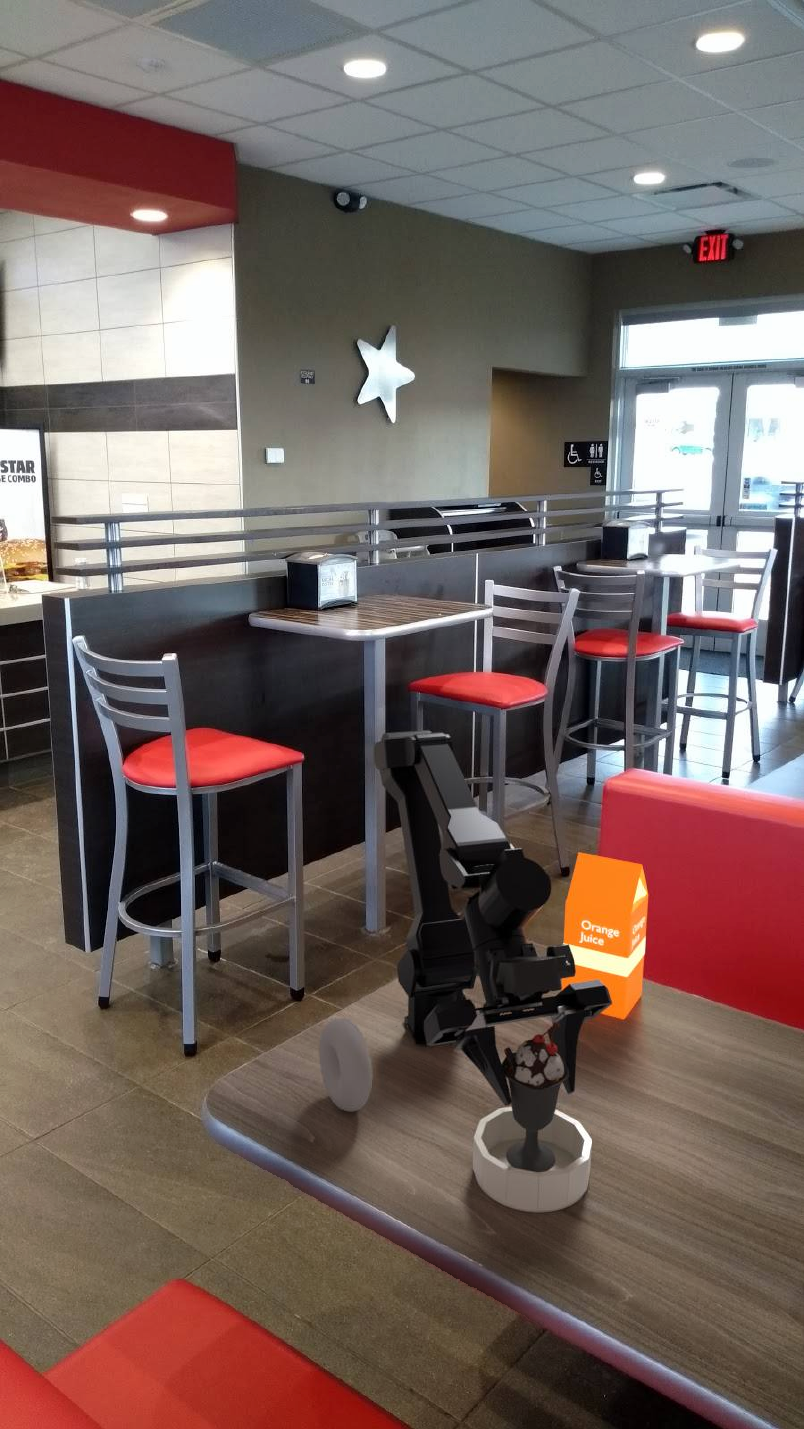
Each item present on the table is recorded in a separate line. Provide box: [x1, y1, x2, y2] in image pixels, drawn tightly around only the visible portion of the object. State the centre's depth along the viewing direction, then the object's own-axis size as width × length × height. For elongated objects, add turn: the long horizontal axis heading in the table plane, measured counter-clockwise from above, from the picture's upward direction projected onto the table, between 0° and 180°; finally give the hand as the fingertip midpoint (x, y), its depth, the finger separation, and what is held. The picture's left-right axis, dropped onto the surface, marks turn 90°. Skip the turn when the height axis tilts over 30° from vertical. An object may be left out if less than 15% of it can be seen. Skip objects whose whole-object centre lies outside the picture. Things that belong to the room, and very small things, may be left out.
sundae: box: [501, 1022, 569, 1172], centre depth 106 cm, size 7×7×15 cm
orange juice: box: [560, 851, 649, 1020], centre depth 141 cm, size 8×9×20 cm
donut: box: [318, 1017, 373, 1113], centre depth 118 cm, size 10×4×10 cm, turn 25°
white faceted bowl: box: [472, 1106, 593, 1214], centre depth 108 cm, size 11×11×4 cm
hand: (540, 1098), depth 105 cm, fingers closed on sundae, 6 cm apart
